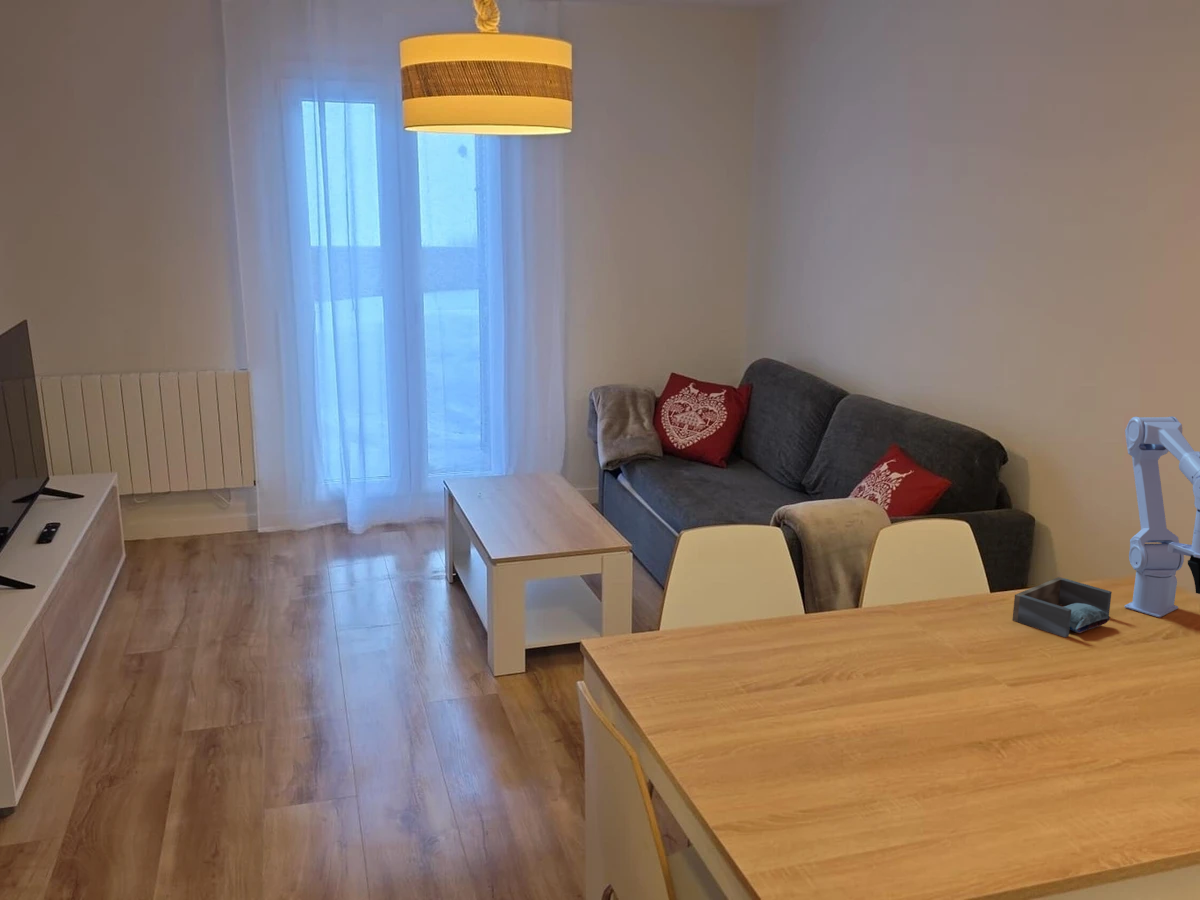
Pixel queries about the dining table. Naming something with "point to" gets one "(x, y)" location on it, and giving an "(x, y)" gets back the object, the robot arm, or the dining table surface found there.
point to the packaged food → (1086, 617)
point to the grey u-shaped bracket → (1056, 604)
